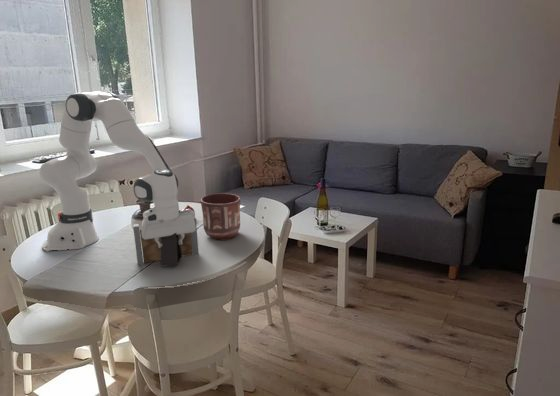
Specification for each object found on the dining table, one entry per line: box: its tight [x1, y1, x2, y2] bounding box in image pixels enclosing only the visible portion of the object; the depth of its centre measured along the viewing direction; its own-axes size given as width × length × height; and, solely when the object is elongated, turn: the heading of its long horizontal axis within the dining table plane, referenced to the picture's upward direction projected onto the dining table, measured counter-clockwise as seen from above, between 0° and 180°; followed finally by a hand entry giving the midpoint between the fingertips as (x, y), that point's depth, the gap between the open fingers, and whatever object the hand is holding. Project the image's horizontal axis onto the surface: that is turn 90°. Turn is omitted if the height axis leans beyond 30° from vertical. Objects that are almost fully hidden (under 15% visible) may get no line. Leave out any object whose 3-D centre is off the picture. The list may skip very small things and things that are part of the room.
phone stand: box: [160, 233, 183, 266], centre depth 165 cm, size 9×6×12 cm, turn 178°
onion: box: [183, 204, 196, 213], centre depth 215 cm, size 6×6×8 cm
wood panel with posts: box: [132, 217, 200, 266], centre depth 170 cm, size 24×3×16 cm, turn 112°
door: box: [139, 227, 193, 264], centre depth 169 cm, size 19×3×14 cm, turn 112°
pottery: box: [200, 192, 241, 241], centre depth 192 cm, size 18×18×18 cm
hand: (170, 245), depth 165 cm, fingers closed on phone stand, 6 cm apart
